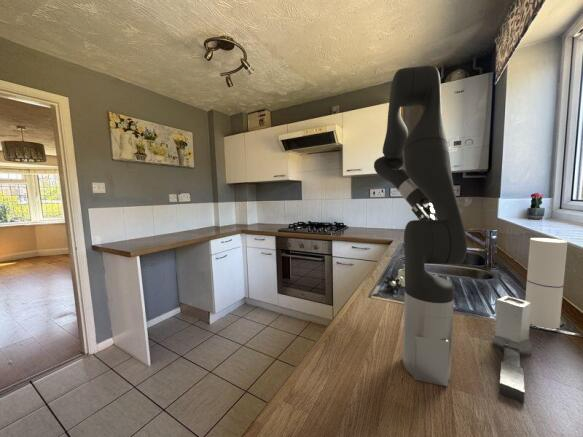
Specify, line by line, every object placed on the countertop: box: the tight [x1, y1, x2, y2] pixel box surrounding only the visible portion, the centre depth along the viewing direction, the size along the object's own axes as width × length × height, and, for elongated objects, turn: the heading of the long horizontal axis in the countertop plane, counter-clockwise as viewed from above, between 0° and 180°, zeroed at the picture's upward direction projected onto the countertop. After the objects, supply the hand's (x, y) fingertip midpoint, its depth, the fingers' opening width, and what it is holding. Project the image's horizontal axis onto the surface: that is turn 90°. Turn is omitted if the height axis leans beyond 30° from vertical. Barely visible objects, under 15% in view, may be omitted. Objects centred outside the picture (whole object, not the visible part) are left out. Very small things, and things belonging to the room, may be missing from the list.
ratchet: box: [492, 330, 533, 404], centre depth 53 cm, size 24×7×6 cm, turn 137°
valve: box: [384, 268, 405, 293], centre depth 98 cm, size 7×7×12 cm
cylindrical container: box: [524, 237, 568, 329], centre depth 68 cm, size 7×7×25 cm
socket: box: [494, 295, 531, 346], centre depth 59 cm, size 5×5×10 cm
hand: (449, 230), depth 72 cm, fingers open, 8 cm apart
